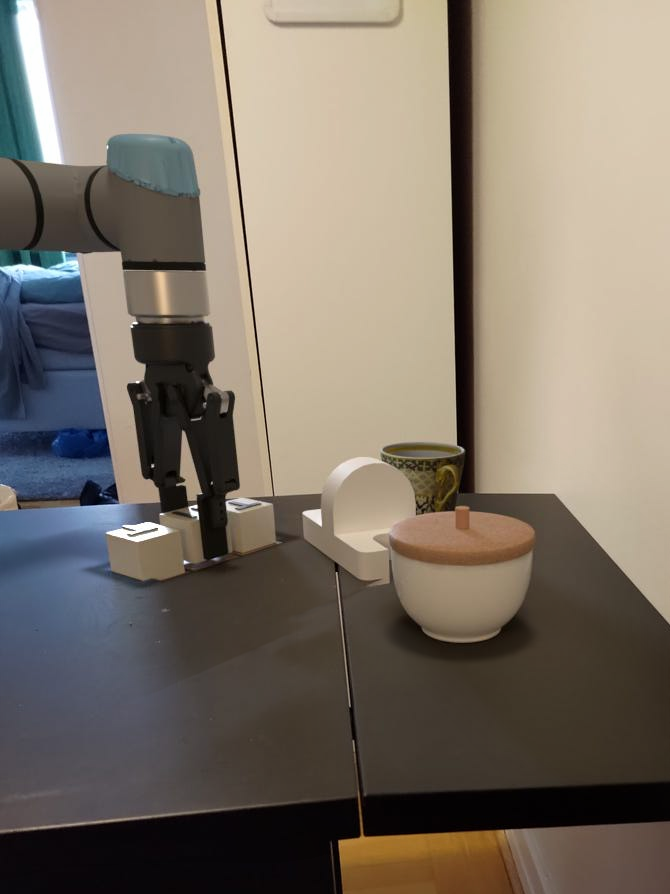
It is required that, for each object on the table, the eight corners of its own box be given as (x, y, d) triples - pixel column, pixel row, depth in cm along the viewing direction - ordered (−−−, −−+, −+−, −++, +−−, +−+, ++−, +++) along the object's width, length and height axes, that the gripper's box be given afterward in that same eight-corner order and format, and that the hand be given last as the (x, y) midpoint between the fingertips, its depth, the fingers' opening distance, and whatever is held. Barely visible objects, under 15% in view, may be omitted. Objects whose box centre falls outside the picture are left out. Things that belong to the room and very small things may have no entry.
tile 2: (211, 545, 98) (207, 504, 97) (245, 535, 102) (242, 496, 100) (242, 553, 96) (238, 511, 94) (276, 542, 100) (273, 502, 98)
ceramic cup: (368, 527, 109) (365, 446, 105) (438, 516, 114) (438, 438, 110) (419, 555, 99) (419, 466, 95) (493, 542, 104) (495, 457, 100)
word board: (92, 581, 89) (91, 575, 88) (243, 536, 104) (243, 531, 104) (143, 598, 85) (142, 591, 84) (292, 548, 100) (292, 542, 100)
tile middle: (164, 555, 93) (158, 512, 91) (201, 544, 97) (197, 503, 95) (195, 564, 91) (190, 520, 89) (232, 552, 95) (228, 510, 93)
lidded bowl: (482, 668, 71) (484, 536, 67) (362, 633, 77) (357, 511, 73) (556, 621, 81) (562, 503, 77) (444, 593, 87) (444, 483, 83)
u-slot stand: (362, 587, 88) (358, 481, 84) (301, 541, 103) (295, 448, 98) (446, 573, 93) (446, 472, 89) (376, 531, 107) (374, 441, 103)
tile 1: (109, 575, 88) (102, 531, 87) (151, 563, 92) (145, 520, 90) (143, 586, 86) (137, 540, 84) (185, 572, 90) (179, 528, 88)
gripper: (265, 322, 83) (284, 558, 92) (144, 314, 92) (172, 530, 101) (202, 325, 77) (228, 576, 86) (79, 317, 86) (115, 545, 95)
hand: (198, 551), depth 94 cm, fingers closed on tile middle, 5 cm apart
